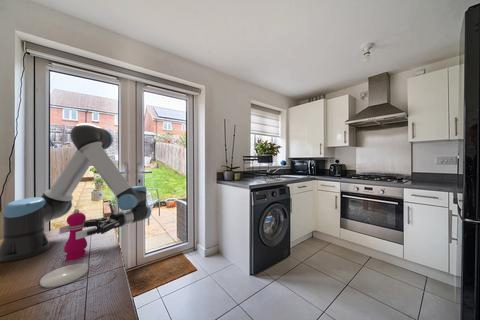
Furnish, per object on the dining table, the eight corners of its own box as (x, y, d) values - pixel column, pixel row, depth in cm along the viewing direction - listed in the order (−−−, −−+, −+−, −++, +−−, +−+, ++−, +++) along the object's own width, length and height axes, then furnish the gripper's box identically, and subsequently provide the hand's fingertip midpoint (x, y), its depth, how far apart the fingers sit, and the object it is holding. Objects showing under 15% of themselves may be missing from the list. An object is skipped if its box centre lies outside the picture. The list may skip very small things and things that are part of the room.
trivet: (33, 281, 60) (33, 278, 60) (78, 263, 71) (78, 260, 71) (49, 292, 55) (49, 288, 55) (95, 271, 66) (95, 268, 66)
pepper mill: (67, 263, 71) (68, 212, 71) (61, 258, 75) (62, 210, 75) (89, 255, 77) (90, 208, 78) (83, 251, 81) (84, 206, 81)
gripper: (136, 229, 87) (83, 248, 68) (106, 223, 98) (53, 237, 79) (137, 214, 87) (84, 228, 68) (107, 209, 98) (53, 220, 79)
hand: (67, 233), depth 74 cm, fingers open, 13 cm apart
